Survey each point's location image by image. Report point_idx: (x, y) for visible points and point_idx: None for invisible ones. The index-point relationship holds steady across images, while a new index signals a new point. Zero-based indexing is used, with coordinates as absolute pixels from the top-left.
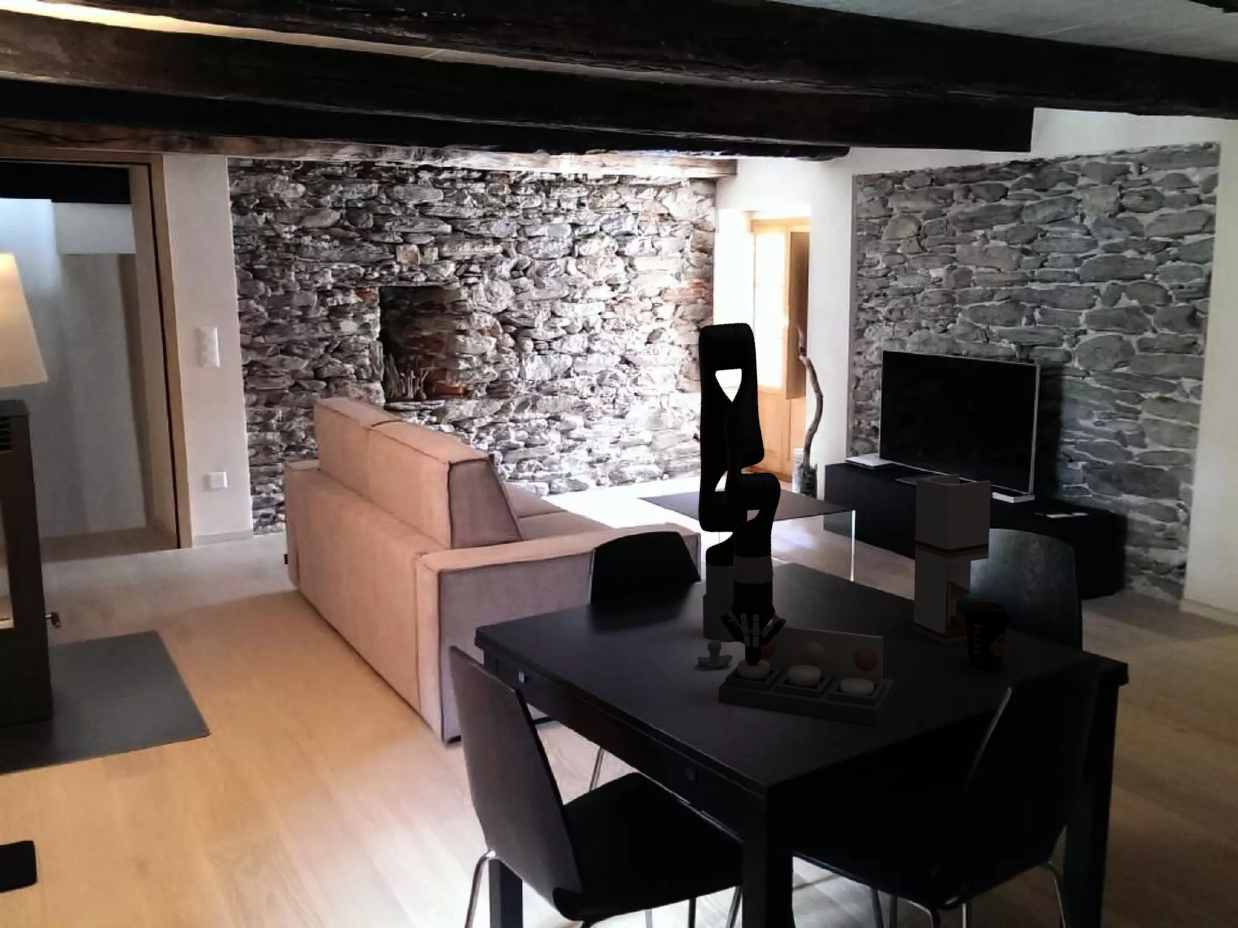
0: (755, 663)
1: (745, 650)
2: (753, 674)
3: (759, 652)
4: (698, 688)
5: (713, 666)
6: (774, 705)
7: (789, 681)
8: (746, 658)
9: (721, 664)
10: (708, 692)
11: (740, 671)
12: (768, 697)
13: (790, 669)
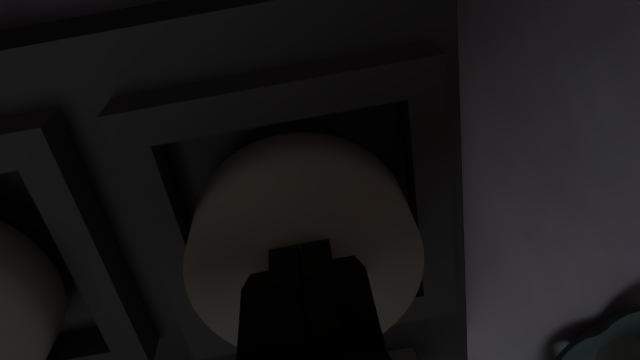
0: (270, 261)
1: (373, 321)
2: (245, 163)
3: (240, 349)
4: (610, 84)
5: (611, 320)
6: (48, 28)
7: (3, 226)
8: (353, 272)
9: (581, 349)
10: (538, 63)
11: (361, 161)
12: (73, 34)
13: (6, 314)
